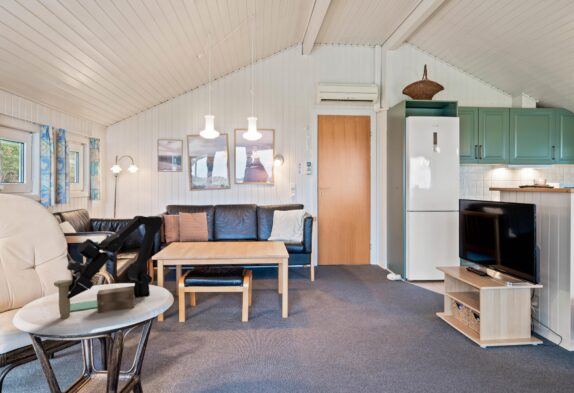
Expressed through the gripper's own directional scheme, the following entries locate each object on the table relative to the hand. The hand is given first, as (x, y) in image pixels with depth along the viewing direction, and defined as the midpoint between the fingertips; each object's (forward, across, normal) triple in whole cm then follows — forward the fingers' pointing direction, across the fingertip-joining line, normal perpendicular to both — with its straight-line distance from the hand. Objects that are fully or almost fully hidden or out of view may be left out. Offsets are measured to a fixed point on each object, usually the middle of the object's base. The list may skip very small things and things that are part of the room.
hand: (66, 295), depth 144 cm
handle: (+7, 0, +6) cm, 9 cm away
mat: (+2, -10, +10) cm, 14 cm away
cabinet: (-6, +3, +19) cm, 20 cm away
